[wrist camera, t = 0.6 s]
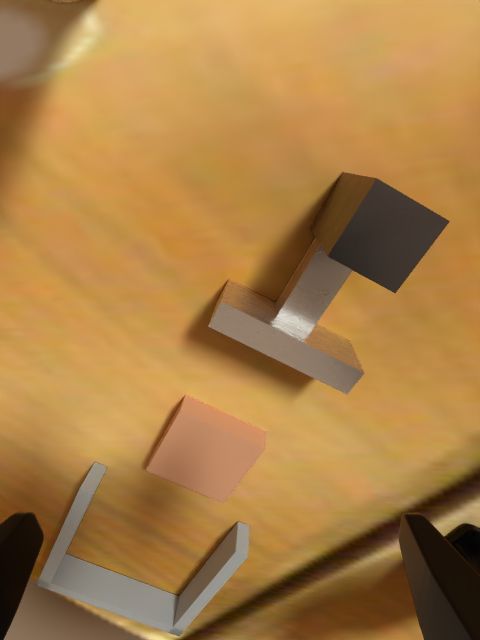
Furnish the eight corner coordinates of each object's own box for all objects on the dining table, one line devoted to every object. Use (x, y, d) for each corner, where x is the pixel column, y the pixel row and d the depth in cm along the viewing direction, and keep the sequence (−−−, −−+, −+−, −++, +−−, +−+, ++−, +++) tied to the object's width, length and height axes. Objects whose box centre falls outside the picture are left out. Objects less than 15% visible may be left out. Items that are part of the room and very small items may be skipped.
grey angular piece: (434, 226, 18) (507, 255, 13) (335, 359, 22) (358, 427, 16) (298, 146, 17) (312, 140, 12) (217, 300, 21) (199, 351, 15)
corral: (249, 526, 28) (247, 556, 26) (184, 605, 33) (179, 636, 31) (94, 462, 27) (79, 489, 24) (51, 555, 32) (35, 585, 30)
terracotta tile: (265, 427, 25) (265, 448, 23) (226, 480, 27) (224, 503, 25) (187, 390, 24) (180, 410, 22) (154, 449, 26) (145, 470, 25)
